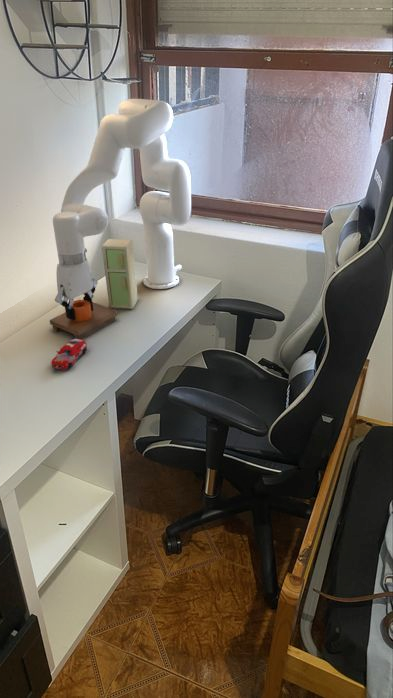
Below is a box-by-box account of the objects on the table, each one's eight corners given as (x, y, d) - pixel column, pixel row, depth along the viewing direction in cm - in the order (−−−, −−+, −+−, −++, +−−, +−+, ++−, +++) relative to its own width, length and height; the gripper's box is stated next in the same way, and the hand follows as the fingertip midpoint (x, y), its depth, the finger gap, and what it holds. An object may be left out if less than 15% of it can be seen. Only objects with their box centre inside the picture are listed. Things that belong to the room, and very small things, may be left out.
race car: (66, 374, 137) (63, 361, 135) (48, 370, 138) (45, 357, 136) (91, 349, 147) (89, 336, 145) (74, 346, 149) (72, 333, 147)
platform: (90, 310, 168) (88, 300, 166) (117, 320, 162) (116, 310, 160) (51, 330, 157) (49, 320, 155) (79, 341, 151) (77, 331, 149)
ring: (81, 309, 161) (79, 297, 159) (96, 315, 157) (94, 303, 155) (65, 317, 156) (63, 305, 154) (80, 323, 153) (78, 311, 151)
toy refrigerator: (107, 308, 169) (100, 246, 158) (114, 299, 175) (108, 238, 164) (131, 310, 167) (126, 247, 157) (138, 300, 174) (133, 239, 163)
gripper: (85, 246, 155) (92, 300, 164) (38, 264, 143) (49, 322, 152) (103, 250, 151) (109, 306, 161) (57, 270, 139) (66, 329, 149)
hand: (80, 313), depth 156 cm, fingers closed on ring, 6 cm apart
